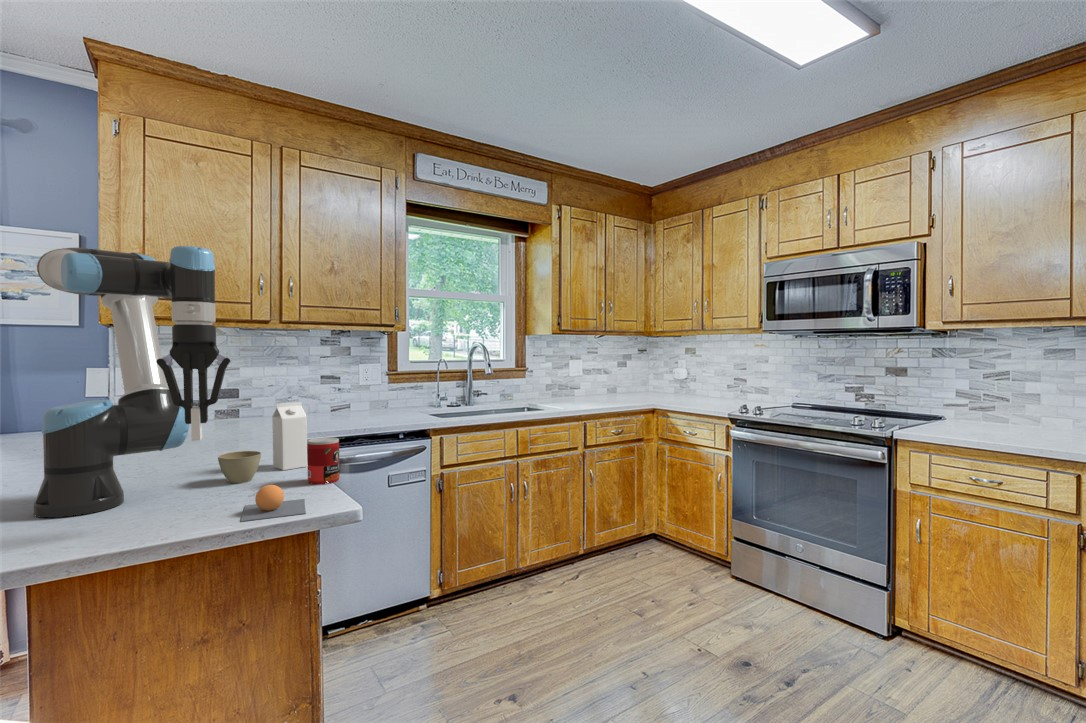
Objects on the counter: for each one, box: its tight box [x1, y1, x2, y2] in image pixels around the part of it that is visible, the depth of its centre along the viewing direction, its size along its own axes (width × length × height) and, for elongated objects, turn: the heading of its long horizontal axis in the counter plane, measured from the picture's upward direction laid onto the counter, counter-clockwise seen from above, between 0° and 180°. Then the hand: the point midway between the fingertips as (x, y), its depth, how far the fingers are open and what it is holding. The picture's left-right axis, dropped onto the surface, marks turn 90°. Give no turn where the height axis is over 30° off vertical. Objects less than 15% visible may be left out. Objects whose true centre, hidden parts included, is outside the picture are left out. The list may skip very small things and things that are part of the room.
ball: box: [254, 484, 285, 511], centre depth 117 cm, size 6×6×6 cm
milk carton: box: [271, 401, 308, 471], centre depth 160 cm, size 7×7×19 cm
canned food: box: [307, 436, 341, 485], centre depth 143 cm, size 8×8×11 cm
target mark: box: [240, 498, 307, 523], centre depth 117 cm, size 12×12×1 cm
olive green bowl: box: [217, 450, 262, 484], centre depth 143 cm, size 10×10×7 cm
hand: (196, 439), depth 111 cm, fingers closed
